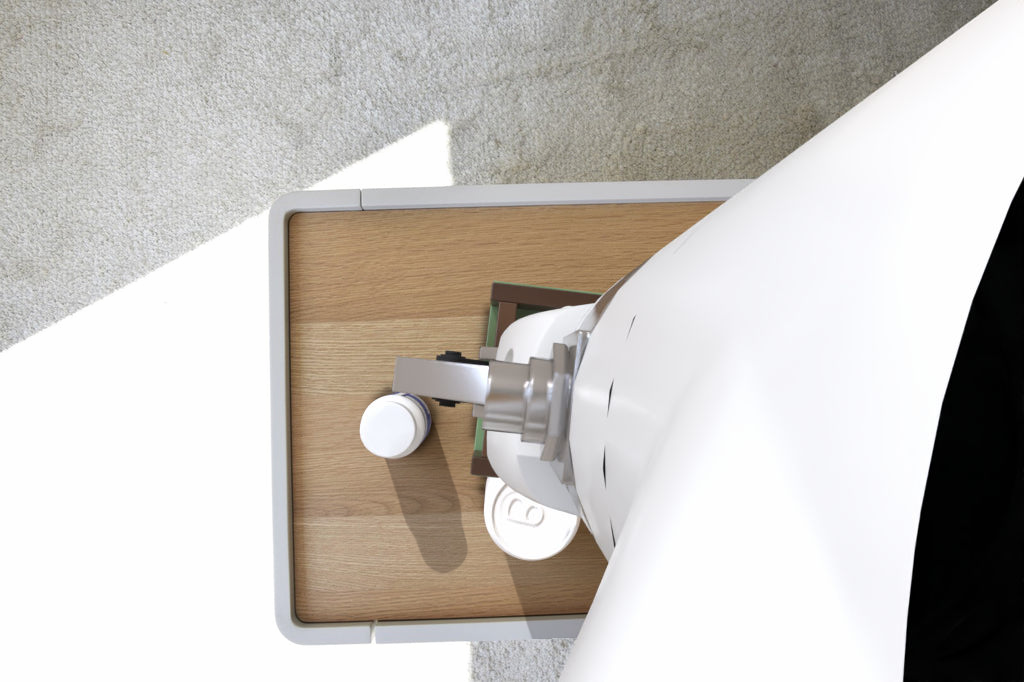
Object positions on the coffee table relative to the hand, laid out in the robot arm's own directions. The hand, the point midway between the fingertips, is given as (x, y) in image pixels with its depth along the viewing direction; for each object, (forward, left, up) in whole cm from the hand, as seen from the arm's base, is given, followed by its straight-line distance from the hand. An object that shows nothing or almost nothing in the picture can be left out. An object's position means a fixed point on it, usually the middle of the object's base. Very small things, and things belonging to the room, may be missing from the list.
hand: (603, 393), depth 30 cm
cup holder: (0, 0, -10) cm, 10 cm away
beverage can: (-11, +1, -36) cm, 37 cm away
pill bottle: (-5, +13, -36) cm, 39 cm away
